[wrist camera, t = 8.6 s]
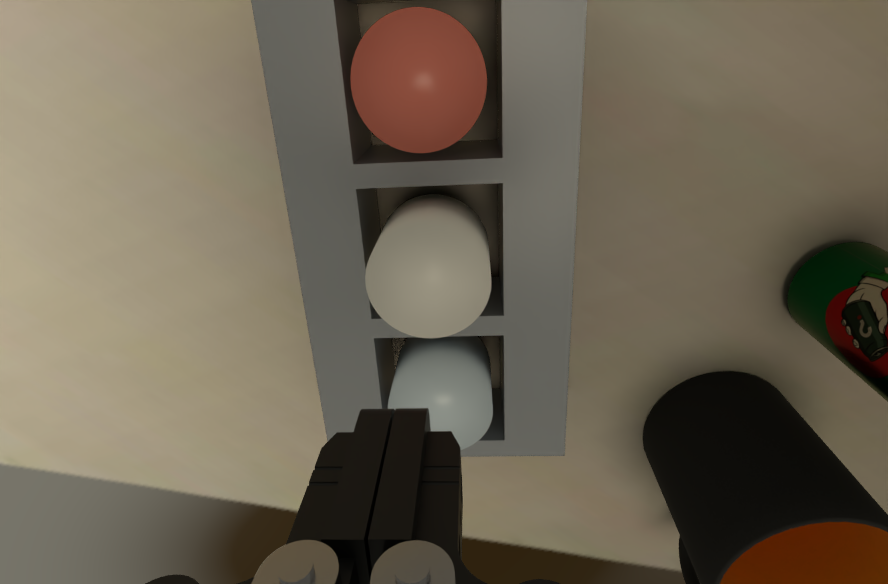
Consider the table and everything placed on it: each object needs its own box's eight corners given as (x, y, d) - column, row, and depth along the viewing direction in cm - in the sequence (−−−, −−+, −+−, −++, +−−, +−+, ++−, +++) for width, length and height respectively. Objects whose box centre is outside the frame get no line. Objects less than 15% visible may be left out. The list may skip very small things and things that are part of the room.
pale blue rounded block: (489, 322, 27) (492, 365, 24) (490, 401, 29) (493, 452, 26) (394, 324, 28) (382, 367, 24) (402, 403, 30) (392, 453, 26)
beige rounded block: (487, 192, 23) (490, 219, 20) (489, 294, 25) (492, 337, 22) (375, 196, 24) (358, 224, 20) (386, 297, 26) (372, 339, 22)
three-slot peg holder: (568, -37, 23) (589, -54, 19) (552, 402, 32) (564, 455, 28) (284, -19, 23) (245, -32, 19) (348, 405, 33) (330, 457, 28)
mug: (603, 514, 35) (651, 686, 26) (672, 357, 30) (763, 500, 21) (726, 537, 36) (818, 716, 26) (815, 386, 31) (968, 540, 21)
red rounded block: (483, 9, 22) (485, 2, 18) (485, 133, 24) (488, 150, 20) (363, 16, 22) (342, 11, 18) (375, 138, 24) (358, 156, 20)
